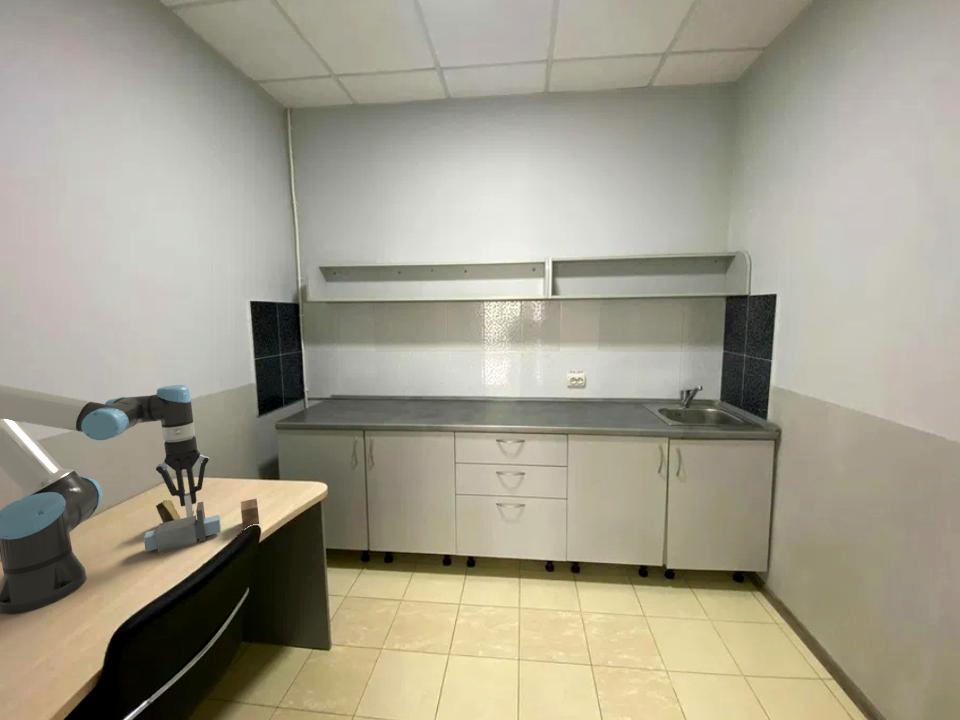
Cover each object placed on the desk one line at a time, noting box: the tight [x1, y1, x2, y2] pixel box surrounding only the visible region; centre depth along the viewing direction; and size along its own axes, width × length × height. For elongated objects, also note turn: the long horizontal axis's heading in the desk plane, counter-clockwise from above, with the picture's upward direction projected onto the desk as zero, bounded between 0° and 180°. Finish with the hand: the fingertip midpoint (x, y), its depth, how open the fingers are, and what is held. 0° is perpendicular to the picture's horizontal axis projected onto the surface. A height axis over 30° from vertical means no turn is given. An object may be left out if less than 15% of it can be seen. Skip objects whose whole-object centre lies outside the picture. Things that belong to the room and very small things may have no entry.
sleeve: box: [156, 514, 199, 555], centre depth 122 cm, size 9×6×6 cm
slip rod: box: [143, 501, 222, 552], centre depth 123 cm, size 18×6×10 cm, turn 121°
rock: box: [155, 499, 181, 523], centre depth 133 cm, size 11×9×10 cm
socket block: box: [240, 497, 260, 531], centre depth 132 cm, size 4×7×7 cm, turn 31°
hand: (190, 514), depth 123 cm, fingers closed
